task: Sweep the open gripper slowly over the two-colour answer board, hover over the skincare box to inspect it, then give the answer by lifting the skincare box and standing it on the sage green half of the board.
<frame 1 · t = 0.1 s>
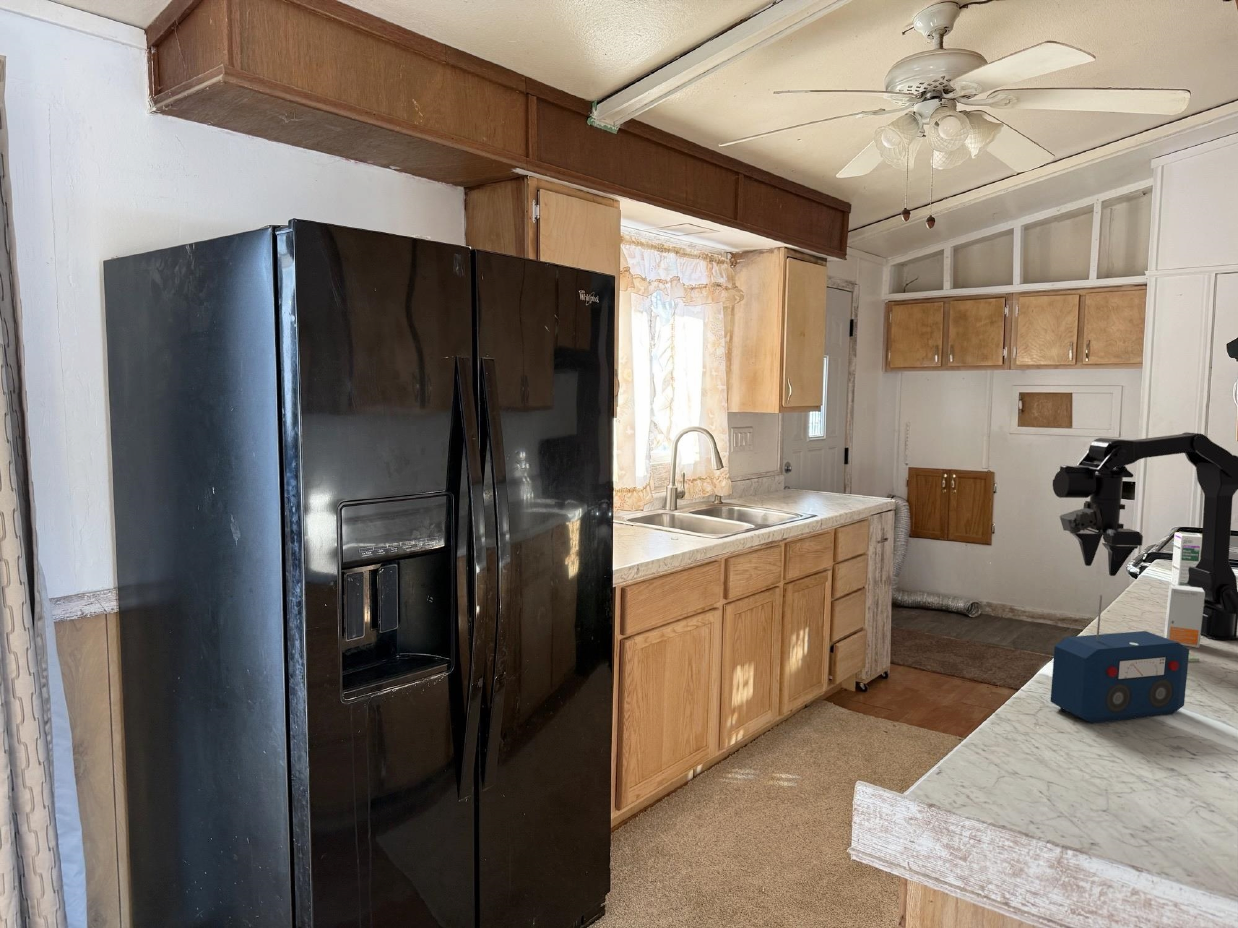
hand: (1099, 570, 181), 14 cm above the counter, tool pointing down, fingers open, 9 cm apart
syrup box: (1185, 587, 230), on the counter
skincare box: (1181, 644, 179), on the counter
answer board: (1155, 649, 174), on the counter
radio: (1117, 712, 141), on the counter
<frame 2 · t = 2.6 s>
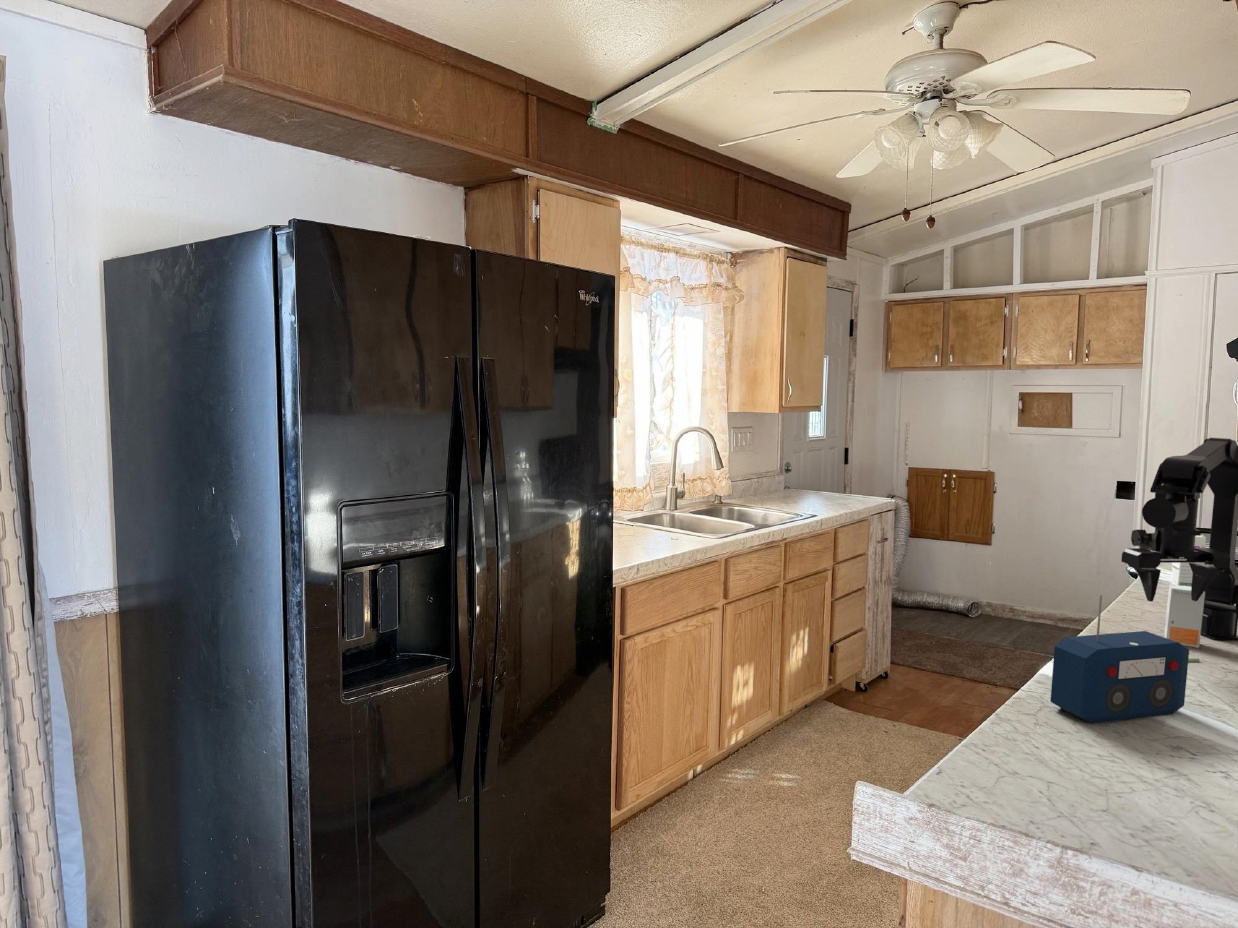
hand: (1172, 600, 168), 12 cm above the counter, tool pointing down, fingers open, 9 cm apart
nothing on the counter moved.
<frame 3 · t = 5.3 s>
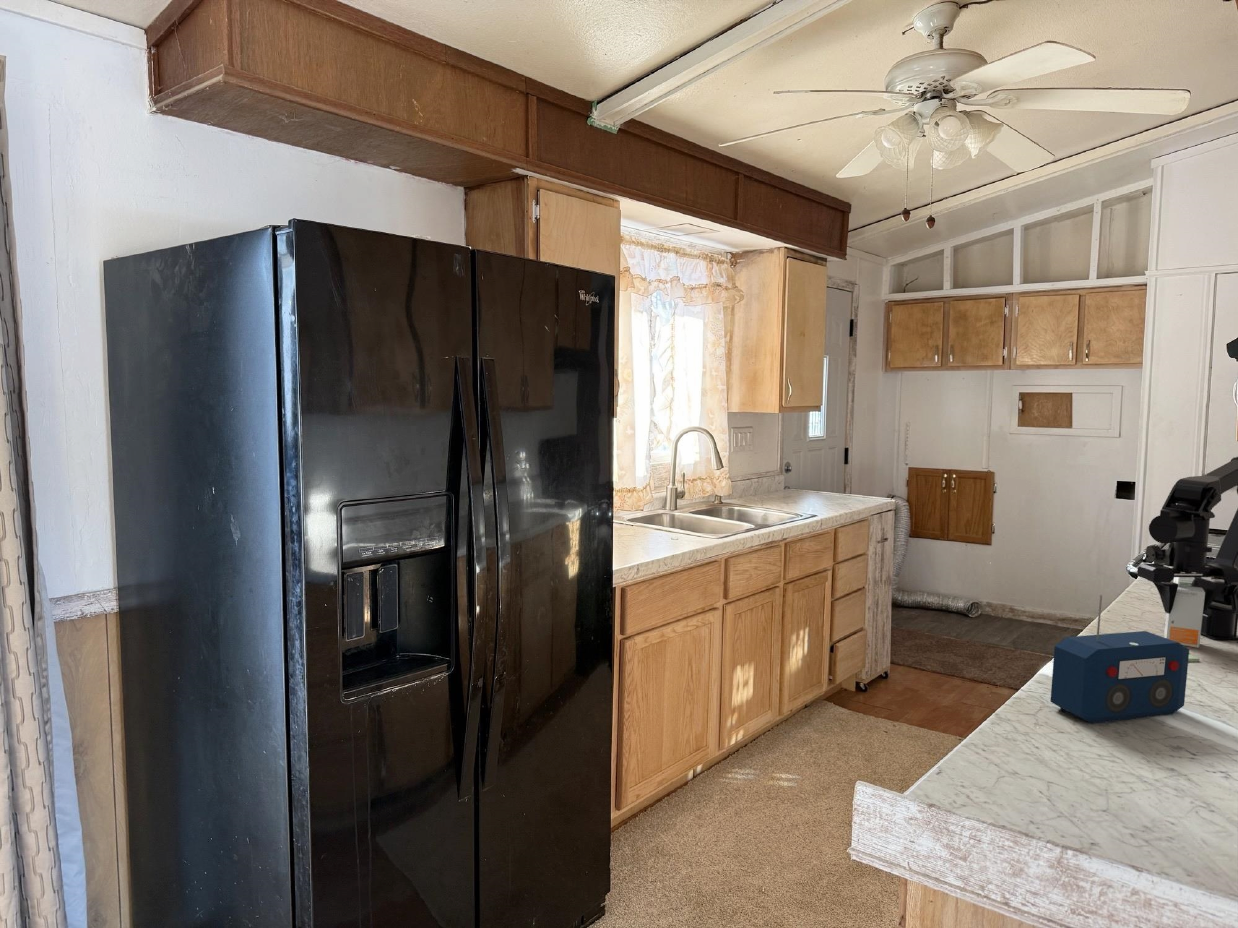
hand: (1184, 613, 179), 7 cm above the counter, tool pointing down, fingers closed on skincare box, 7 cm apart
skincare box: (1181, 644, 179), on the counter, touching gripper
everything else where it was.
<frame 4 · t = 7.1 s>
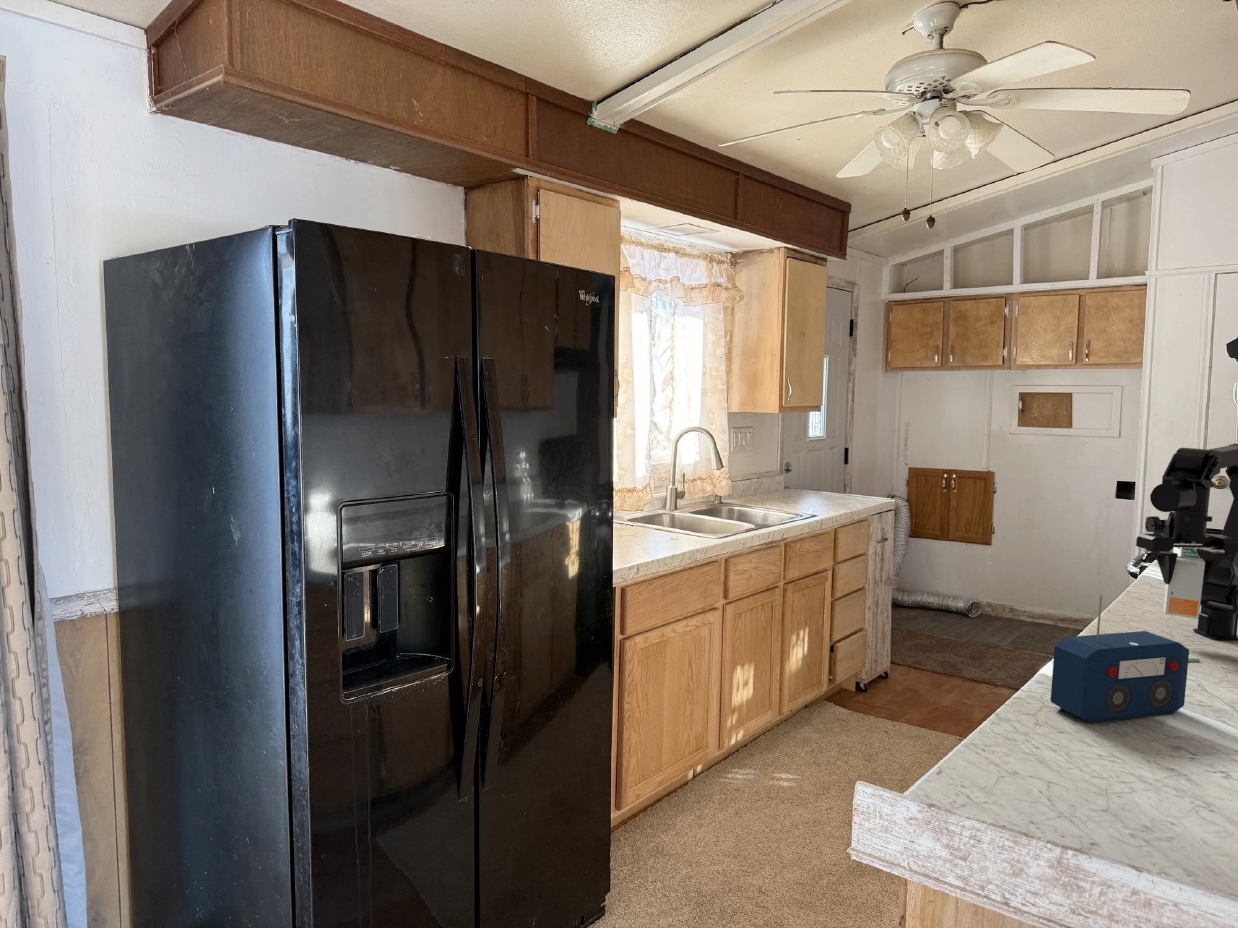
hand: (1184, 583, 176), 13 cm above the counter, tool pointing down, fingers closed on skincare box, 7 cm apart
skincare box: (1181, 615, 177), point 6 cm above the counter, touching gripper
everything else where it was.
when the fingers open (8 cm above the counter, at t = 9.4 s): skincare box drops 1 cm, resting on answer board.
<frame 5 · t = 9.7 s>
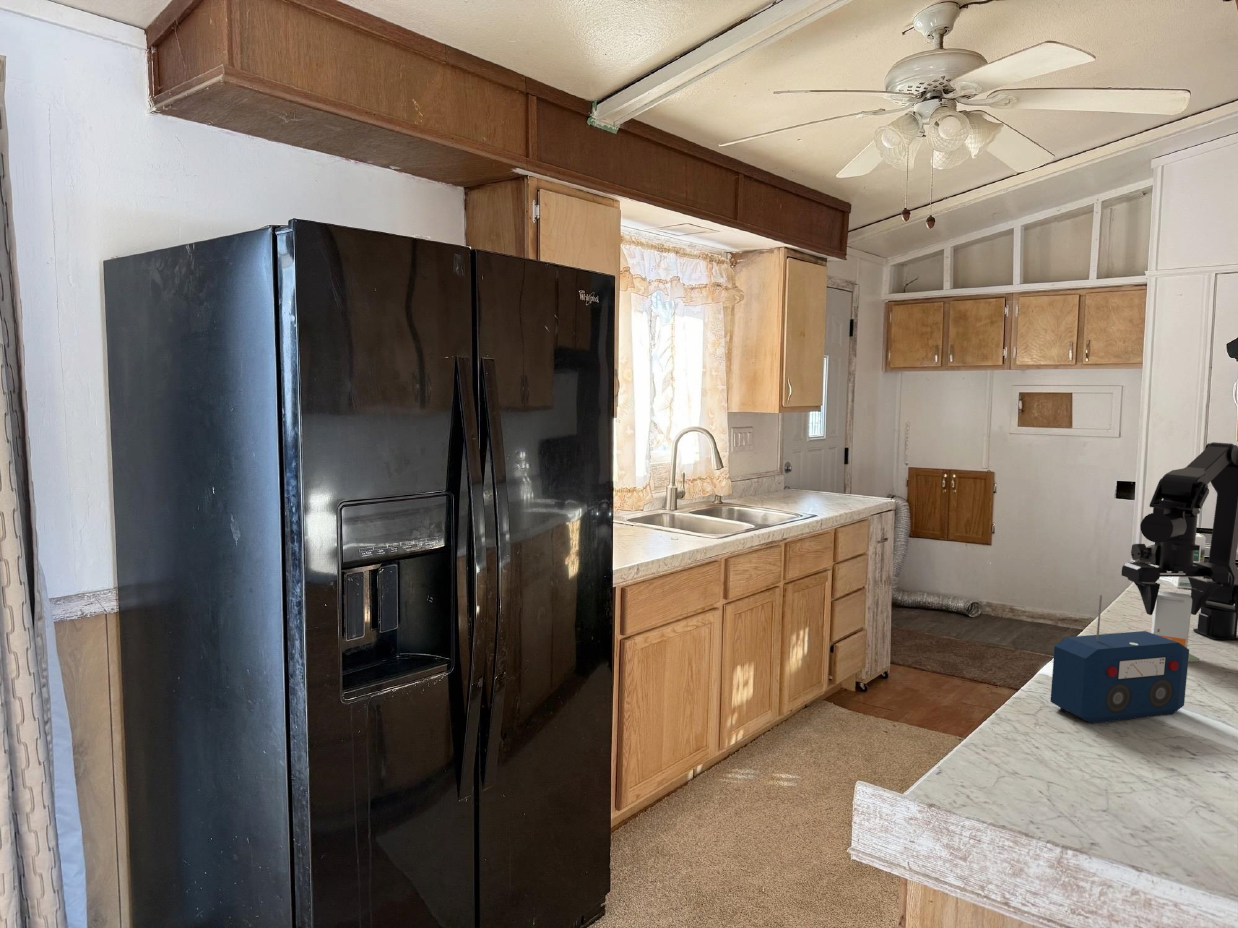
hand: (1171, 614, 170), 8 cm above the counter, tool pointing down, fingers open, 9 cm apart
skincare box: (1168, 653, 171), resting on answer board
everything else where it was.
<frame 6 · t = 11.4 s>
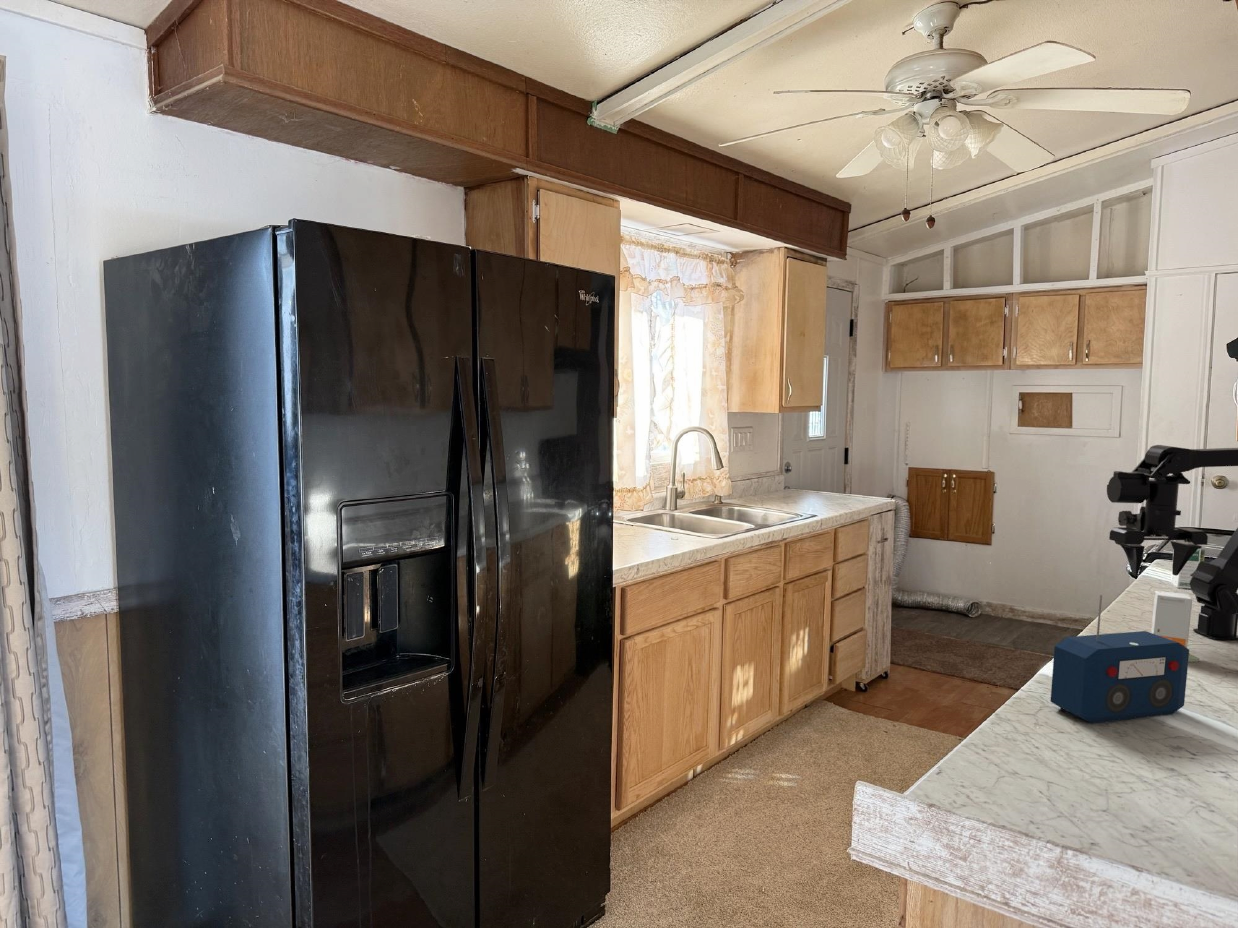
hand: (1155, 575, 185), 13 cm above the counter, tool pointing down, fingers open, 9 cm apart
nothing on the counter moved.
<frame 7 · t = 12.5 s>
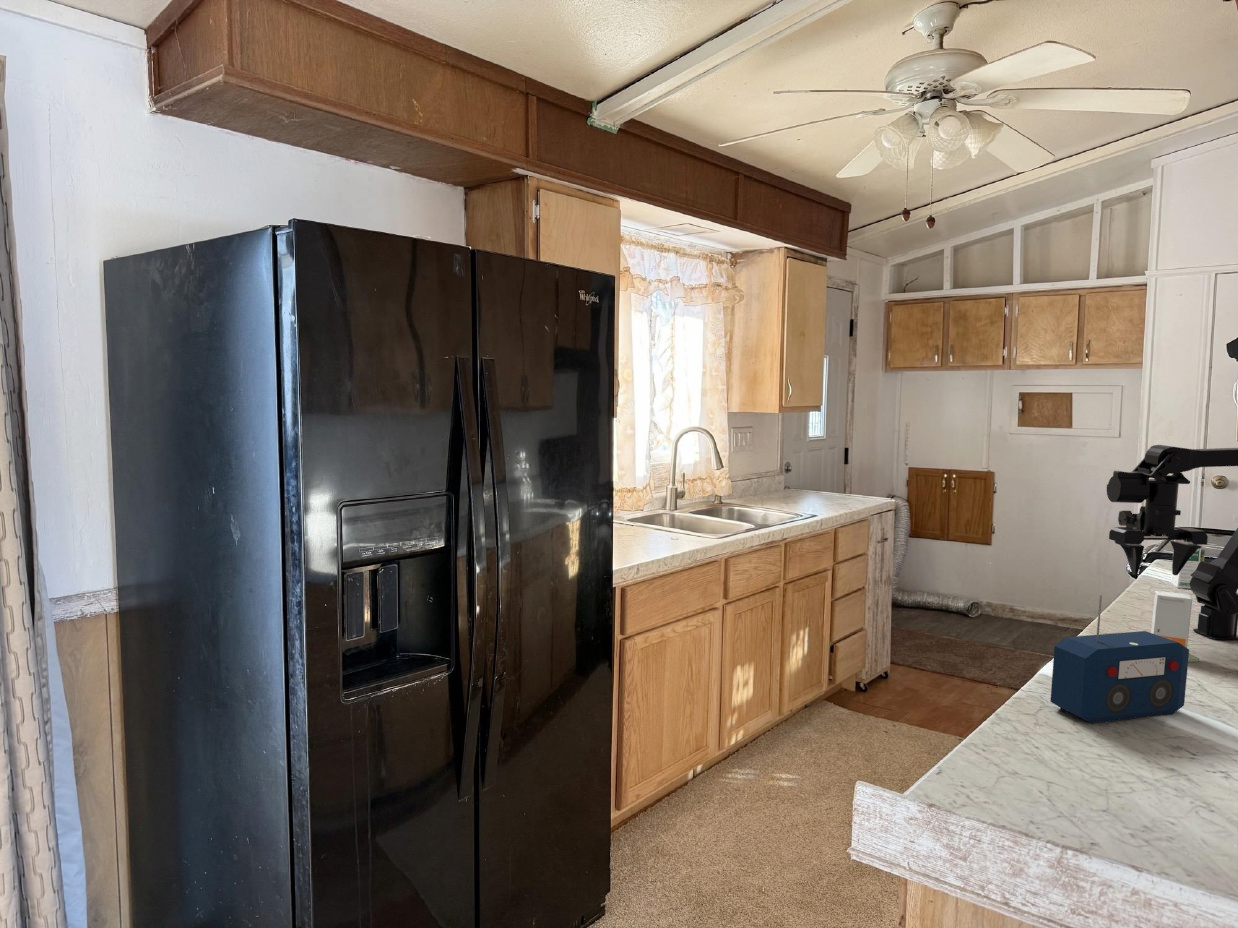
hand: (1154, 574, 185), 13 cm above the counter, tool pointing down, fingers open, 9 cm apart
nothing on the counter moved.
at the end: skincare box inside the target area (0.8 cm from its centre), resting on answer board; skincare box tilted 0°; the gripper is holding nothing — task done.
